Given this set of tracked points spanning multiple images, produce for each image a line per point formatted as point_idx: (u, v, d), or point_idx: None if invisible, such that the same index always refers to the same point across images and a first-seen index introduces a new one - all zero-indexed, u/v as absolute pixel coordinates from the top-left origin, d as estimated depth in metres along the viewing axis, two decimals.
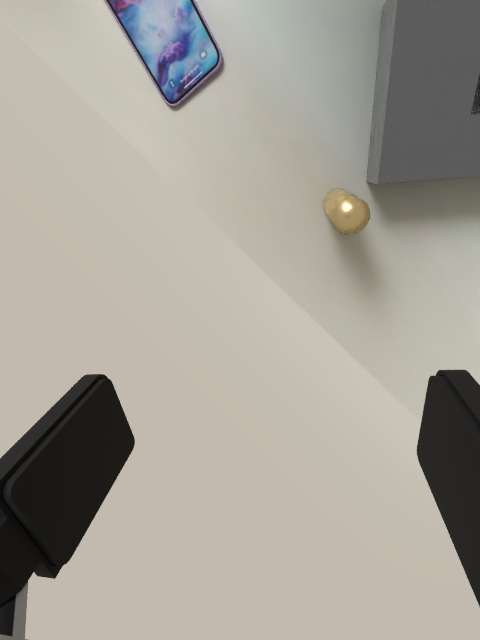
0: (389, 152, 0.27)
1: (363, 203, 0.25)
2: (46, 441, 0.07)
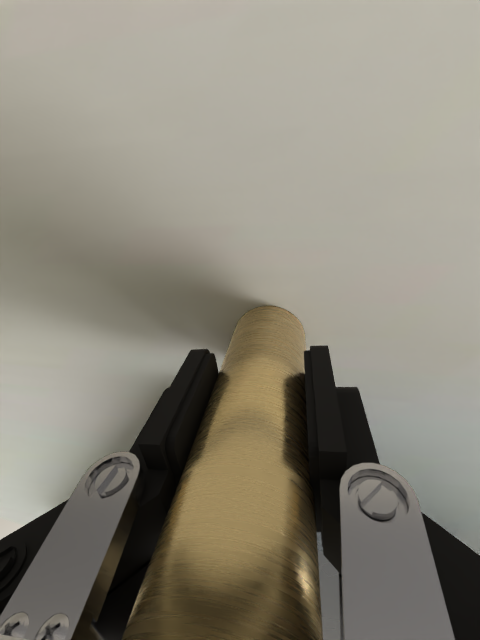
0: None
1: None
2: (185, 404, 0.08)
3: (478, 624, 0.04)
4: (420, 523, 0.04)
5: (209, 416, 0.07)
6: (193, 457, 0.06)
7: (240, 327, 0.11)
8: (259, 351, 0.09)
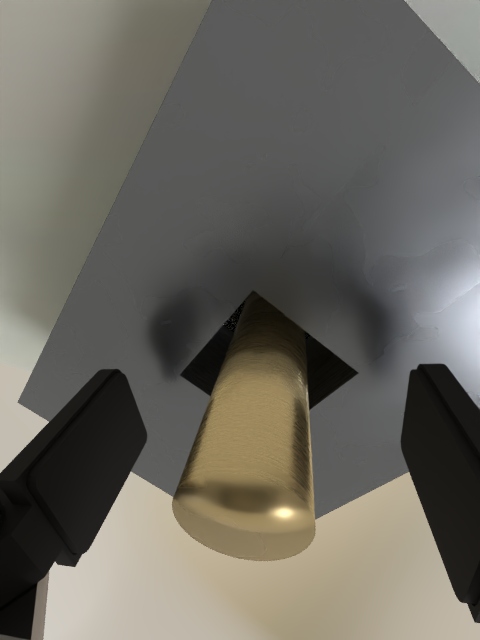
0: (349, 17, 0.06)
1: (252, 556, 0.07)
2: (67, 432, 0.07)
3: None
4: None
5: (229, 359, 0.10)
6: (218, 384, 0.09)
7: (249, 301, 0.14)
8: (265, 315, 0.11)
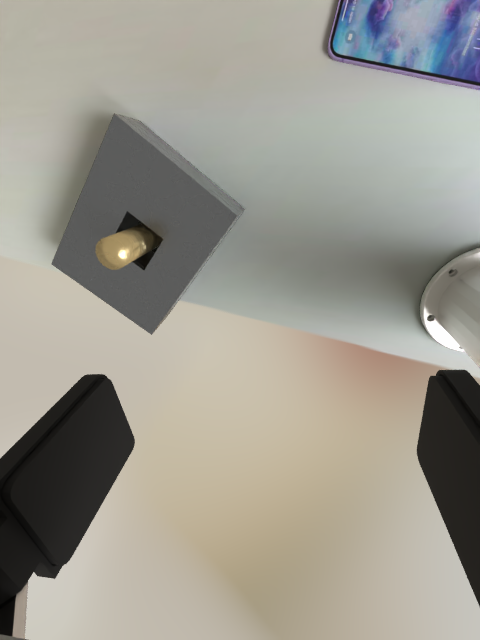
0: (134, 141, 0.28)
1: (116, 268, 0.28)
2: (46, 441, 0.07)
3: None
4: None
5: None
6: None
7: None
8: (139, 224, 0.33)
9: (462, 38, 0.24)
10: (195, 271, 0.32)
